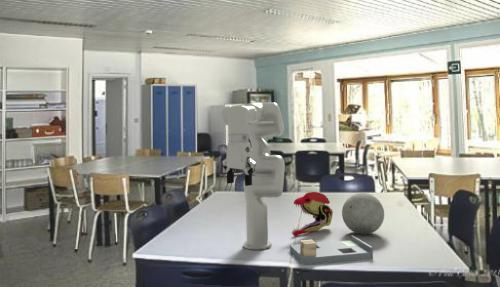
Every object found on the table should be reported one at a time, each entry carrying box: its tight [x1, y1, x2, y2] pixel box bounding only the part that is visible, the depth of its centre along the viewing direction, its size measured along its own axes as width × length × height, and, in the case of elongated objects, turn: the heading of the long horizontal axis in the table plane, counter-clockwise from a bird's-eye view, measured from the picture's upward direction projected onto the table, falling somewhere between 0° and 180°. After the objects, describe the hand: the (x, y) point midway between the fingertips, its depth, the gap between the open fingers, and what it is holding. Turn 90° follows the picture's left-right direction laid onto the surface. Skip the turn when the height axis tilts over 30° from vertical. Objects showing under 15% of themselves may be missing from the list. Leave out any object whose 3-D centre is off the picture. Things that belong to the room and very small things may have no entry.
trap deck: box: [289, 235, 374, 265], centre depth 172 cm, size 18×29×4 cm, turn 101°
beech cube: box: [299, 238, 317, 256], centre depth 166 cm, size 5×5×5 cm
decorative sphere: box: [341, 192, 385, 235], centre depth 202 cm, size 20×20×20 cm
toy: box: [291, 191, 334, 237], centre depth 208 cm, size 7×27×20 cm, turn 127°
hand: (239, 184), depth 157 cm, fingers open, 9 cm apart
